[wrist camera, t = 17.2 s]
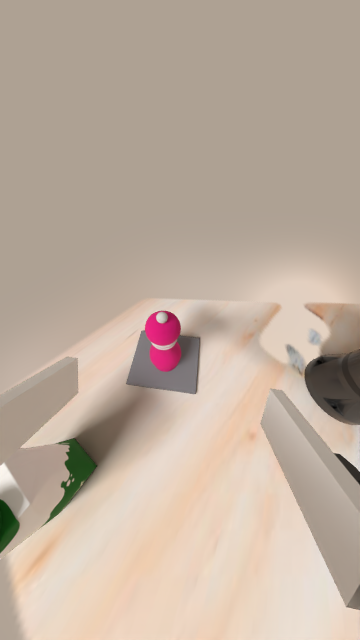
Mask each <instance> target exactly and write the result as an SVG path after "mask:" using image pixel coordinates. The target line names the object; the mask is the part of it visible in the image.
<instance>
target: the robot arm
mask: <svg viewBox="0 0 360 640" xmlns="http://www.w3.org/2000/svg"><path fill="white" fill-rule="evenodd" d="M305 381H306V385H307V388H308V390H309V392H310V394H311V396H312V397H313V399H314V400H315V402H316V403H317V404H318V405H319V406H320V407H321V408H322V409H323V410H324V411H325V412H326V413H327V414H329V415H330V416H331V417H333V418H335V419H337V420H338V421H341V422H343V423H346V424H351V425H360V349H358V350H356V351H354V352H351V353H349V354H333V355H324V356H320V357H318V358H316V359H314V360H312V361H311V362H310V363H309V364H308V365H307V367H306V370H305ZM77 394H78V358H72V357H66V358H64V359H62V360H61V361H59V362H57V363H55V364H54V365H52V366H50V367H48V368H47V369H45V370H43V371H41V372H40V373H38V374H36V375H34V376H33V377H31V378H29V379H27V380H26V381H24V382H22V383H20V384H19V385H17V386H15V387H13V388H12V389H10V390H8V391H6V392H5V393H3V394H1V395H0V466H1V465H2V464H3V463H4V462H5V461H6V460H7V459H8V458H9V457H10V456H11V455H12V454H13V453H15V452H16V451H17V450H18V449H19V448H20V447H21V446H22V445H23V444H24V443H25V442H26V441H27V440H28V439H29V438H31V437H32V436H33V435H34V434H35V433H36V432H37V431H38V430H39V429H40V428H41V427H42V426H43V425H44V424H46V423H47V422H48V421H49V420H50V419H51V418H52V417H53V416H54V415H55V414H56V413H57V412H58V411H59V410H60V409H62V408H63V407H64V406H65V405H66V404H67V403H68V402H69V401H70V400H71V399H72V398H73V397H74V396H75V395H77ZM261 426H262V428H263V430H264V432H265V434H266V437H267V439H268V441H269V443H270V445H271V447H272V449H273V451H274V454H275V456H276V458H277V460H278V462H279V464H280V466H281V469H282V471H283V473H284V475H285V477H286V479H287V481H288V483H289V486H290V488H291V490H292V492H293V494H294V496H295V498H296V501H297V503H298V505H299V507H300V509H301V511H302V513H303V515H304V518H305V520H306V522H307V524H308V526H309V528H310V530H311V533H312V535H313V537H314V539H315V541H316V543H317V545H318V547H319V550H320V552H321V554H322V556H323V558H324V560H325V562H326V565H327V567H328V569H329V571H330V573H331V575H332V577H333V579H334V582H335V584H336V586H337V588H338V590H339V592H340V594H341V597H342V599H343V601H344V603H345V605H346V607H349V608H353V609H358V610H360V472H359V471H358V470H357V468H356V467H354V466H353V465H352V464H351V463H350V462H349V461H347V460H346V459H345V458H344V457H343V456H341V455H340V454H335V453H333V452H332V451H331V449H330V448H329V447H328V446H327V444H326V443H325V442H324V441H323V440H322V438H321V437H320V436H319V435H318V434H317V432H316V431H315V430H314V429H313V427H312V426H311V425H310V424H309V423H308V421H307V420H306V419H305V418H304V416H303V415H302V414H301V413H300V412H299V410H298V409H297V408H296V407H295V405H294V404H293V403H292V402H291V401H290V399H289V398H288V397H287V396H286V394H285V393H284V392H283V391H282V390H276V389H270V391H269V395H268V398H267V402H266V406H265V409H264V413H263V417H262V420H261Z"/></svg>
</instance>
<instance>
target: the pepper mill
mask: <svg viewBox="0 0 360 640" xmlns="http://www.w3.org/2000/svg"><path fill="white" fill-rule="evenodd" d="M180 330H181V326H180V322H179V320H178V318H177V317H176V316H175V315H174V314H173V313H171V312H168V311H158V312H155V313H153V314H152V315H151V316H150V317H149V318H148V320H147V321H146V325H145V332H146V336H147V338H148V339H149V340H150V341H151V343H152V345H151V347H150V359H151V362H152V363H153V364H154V365H155V366H156V368H157V369H158V370H160V371H163V372H168V371H171V370H173V369H174V368H175V367H176V366H177V364H178V362H179V361H180V358H181V348H180V345H179V344H178V342H177V338H178V337H179V335H180Z"/></svg>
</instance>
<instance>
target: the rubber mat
mask: <svg viewBox="0 0 360 640" xmlns="http://www.w3.org/2000/svg"><path fill="white" fill-rule="evenodd" d="M199 340H200V338H194V337H186V336H179V337H178V338H177V342H178V344H179V345H180V348H181V358H180V361H179V362H178V364H177V366H176V367H175V368H174V369H173V370H171V371H168V372H163V371H160V370H158V369H157V368H156V366H155V365H154V364H153V363H152V362H151V359H150V347H151V345H152V343H151V341H150V340H149V339H148V338H147V336H146V332H145V331H141V335H140V338H139V341H138V345H137V348H136V352H135V355H134V359H133V362H132V366H131V369H130V372H129V376H128V379H127V383H126V384H129V385H136V386H143V387H149V388H156V389H163V390H170V391H177V392H184V393H190V394H196V381H197V367H198V353H199Z"/></svg>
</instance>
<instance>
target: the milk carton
mask: <svg viewBox="0 0 360 640" xmlns="http://www.w3.org/2000/svg"><path fill="white" fill-rule="evenodd" d="M96 467H97V465H96V464H95V463H94V462H93V460H92V459H91V458H90V457H89V455H88V454H87V453H86V452H85V451H84V449H83V448H82V447H81V446H80V445H79V443H78V442H77V441H76V440H75V439H74V438H73V439H70V440H66V441H63V442H59V443H56V444H51V445H45V446H38V447H32V448H19V449H18V450H17V451H16V452H15V453H13V454H12V455H11V456H10V457H9V458H8V459H7V460H6V461H5V462H4V463H3V464H2V465H1V466H0V560H1V559H2V558H3V557H4V556H5V555H7V554H8V553H9V552H10V551H12V550H13V549H14V548H15V547H17V546H18V545H19V544H20V543H22V542H23V541H24V540H26V539H27V538H28V537H29V536H31V535H32V534H33V533H35V532H36V531H37V530H39V529H40V528H41V527H42V526H44V525H45V524H46V523H48V522H49V521H50V520H51V519H53V518H54V517H55V516H57V515H58V514H59V513H60V512H61V511H62V510H63V509H64V508H65V507H66V505H67V504H68V503H69V501H70V500H71V499H72V498H73V496H74V495H75V494H76V493H77V491H78V490H79V489H80V487H81V486H82V485H83V484H84V482H85V481H86V480H87V478H88V477H89V476H90V475H91V473H92V472H93V471H94V469H95V468H96Z"/></svg>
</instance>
